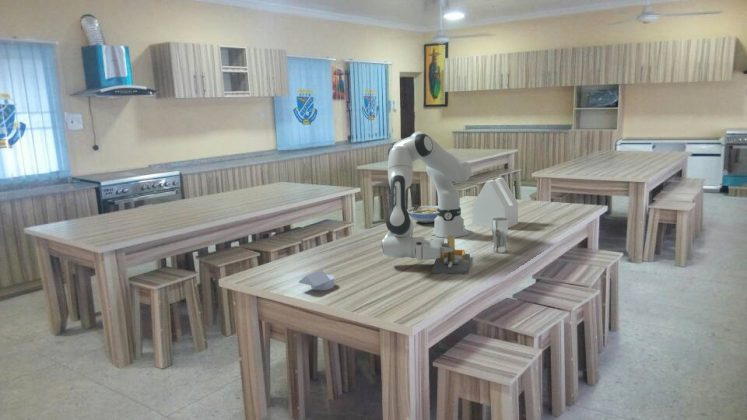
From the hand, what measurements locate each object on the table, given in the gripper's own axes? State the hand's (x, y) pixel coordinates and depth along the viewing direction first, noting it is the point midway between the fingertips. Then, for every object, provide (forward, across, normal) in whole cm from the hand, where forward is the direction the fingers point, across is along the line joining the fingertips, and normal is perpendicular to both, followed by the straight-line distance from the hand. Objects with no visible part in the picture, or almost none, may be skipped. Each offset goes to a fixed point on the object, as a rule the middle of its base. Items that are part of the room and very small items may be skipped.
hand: (453, 247), depth 226 cm
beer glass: (+19, -24, -8) cm, 32 cm away
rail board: (-1, -2, -8) cm, 8 cm away
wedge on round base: (-49, +31, -8) cm, 58 cm away
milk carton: (+17, -78, -8) cm, 80 cm away
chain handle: (-1, +3, -6) cm, 7 cm away
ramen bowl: (-21, -84, -8) cm, 87 cm away
